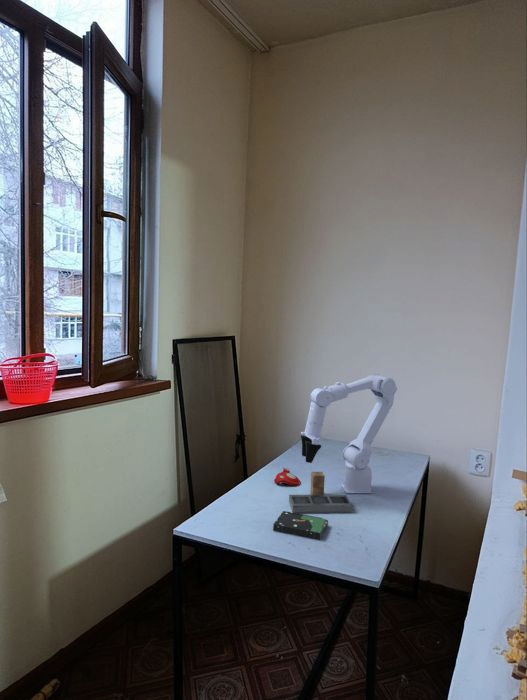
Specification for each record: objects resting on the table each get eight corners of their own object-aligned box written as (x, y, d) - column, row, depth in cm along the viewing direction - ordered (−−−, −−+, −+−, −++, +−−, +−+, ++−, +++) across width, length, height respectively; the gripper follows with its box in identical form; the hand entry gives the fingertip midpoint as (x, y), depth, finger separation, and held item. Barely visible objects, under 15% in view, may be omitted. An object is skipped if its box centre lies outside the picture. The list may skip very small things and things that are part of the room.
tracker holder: (306, 481, 184) (285, 480, 178) (301, 492, 185) (280, 491, 179) (289, 464, 194) (268, 462, 189) (284, 474, 195) (264, 473, 189)
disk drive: (272, 533, 146) (321, 541, 141) (272, 524, 146) (321, 532, 141) (282, 518, 156) (328, 526, 151) (282, 510, 156) (328, 517, 151)
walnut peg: (321, 493, 176) (322, 471, 176) (323, 497, 173) (324, 475, 172) (310, 493, 176) (311, 471, 175) (312, 497, 172) (313, 475, 171)
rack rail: (345, 501, 170) (345, 494, 169) (352, 512, 161) (352, 505, 161) (288, 501, 168) (289, 494, 168) (292, 513, 159) (293, 505, 159)
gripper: (300, 416, 179) (292, 451, 180) (307, 424, 165) (299, 463, 165) (319, 419, 180) (311, 455, 180) (327, 428, 165) (319, 466, 166)
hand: (306, 459), depth 173 cm, fingers open, 7 cm apart
